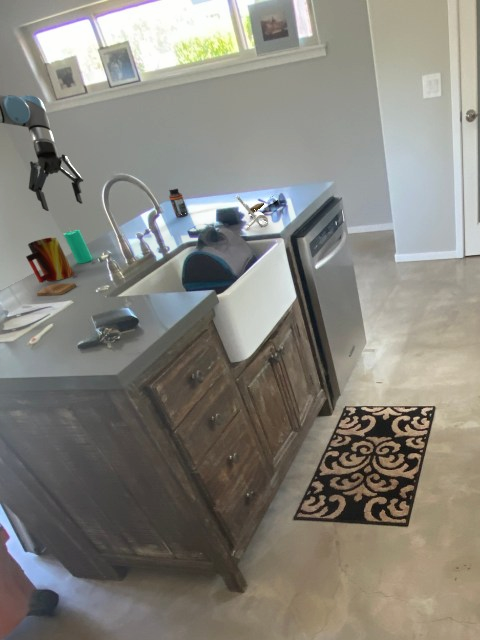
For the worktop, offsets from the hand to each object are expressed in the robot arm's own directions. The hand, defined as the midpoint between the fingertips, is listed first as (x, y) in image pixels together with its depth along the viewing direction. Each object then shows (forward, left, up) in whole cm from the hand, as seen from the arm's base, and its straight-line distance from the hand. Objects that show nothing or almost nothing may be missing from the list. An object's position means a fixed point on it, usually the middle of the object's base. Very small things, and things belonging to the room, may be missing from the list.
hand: (62, 206), depth 199 cm
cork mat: (+18, -41, -18) cm, 49 cm away
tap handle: (+58, +55, -18) cm, 82 cm away
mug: (+8, -27, -18) cm, 34 cm away
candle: (+5, -7, -18) cm, 20 cm away
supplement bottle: (+14, +58, -18) cm, 62 cm away
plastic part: (+66, +26, -18) cm, 73 cm away
